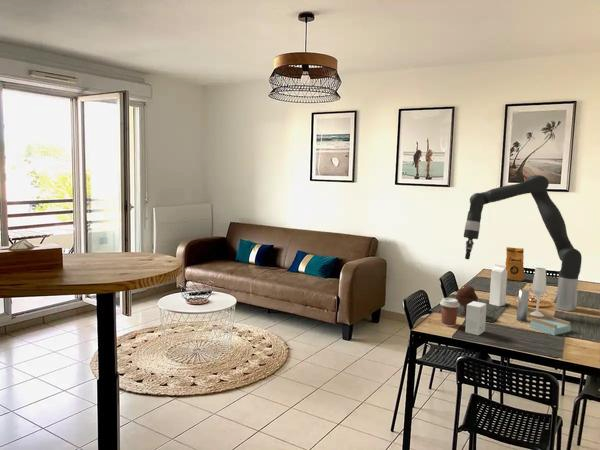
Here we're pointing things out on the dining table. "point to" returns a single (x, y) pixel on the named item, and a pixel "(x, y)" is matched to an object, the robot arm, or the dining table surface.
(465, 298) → the ice cream bowl
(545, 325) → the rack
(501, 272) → the milk
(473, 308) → the small box
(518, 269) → the coffee package
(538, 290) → the champagne flute
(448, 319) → the coffee cup
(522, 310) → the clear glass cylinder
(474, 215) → the robot arm
